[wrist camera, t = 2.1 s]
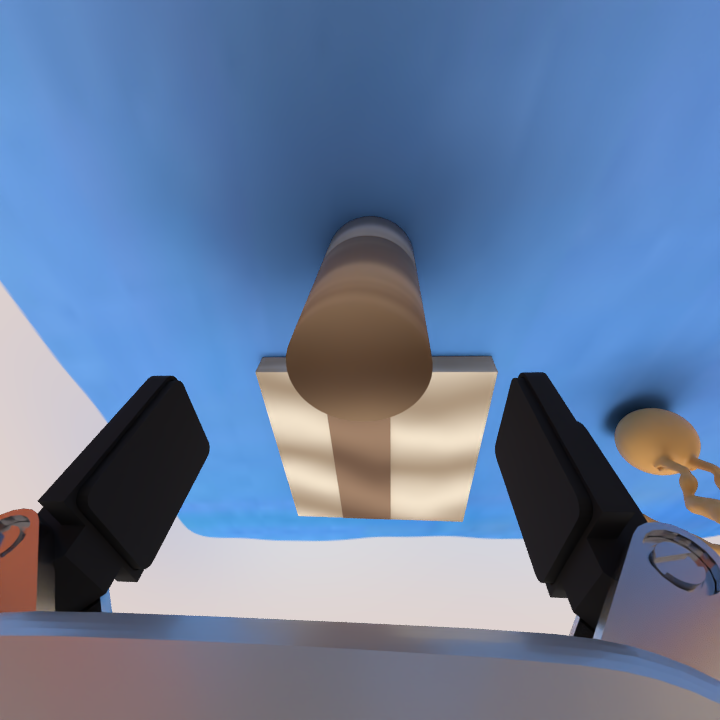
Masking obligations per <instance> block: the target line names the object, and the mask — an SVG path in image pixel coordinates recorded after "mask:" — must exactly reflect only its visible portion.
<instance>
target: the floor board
mask: <svg viewBox="0 0 720 720" xmlns="http://www.w3.org/2000/svg"><path fill="white" fill-rule="evenodd" d="M432 361H433V371H432V377H431V380H430V383H429V386H428V388H427V389H426V391H425V393H424V394H423V395H422V397H421V398H420V399H419V400H418V401H417V402H416V403H415V404H414V405H413V406H411V407H410V408H409V409H407V410H405V411H404V412H402V413H400V414H398V415H395V416H393V417H390V418H387V419H382V420H377V421H367V422H359V421H349V420H343V419H339V418H336V417H333V416H330V415H328V414H325V413H323V412H321V411H319V410H318V409H316V408H314V407H313V406H312V405H310V404H309V403H308V402H306V401H305V400H304V399H303V398H302V397H301V396H300V395H299V393H298V392H297V391H296V389H295V388H294V386H293V385H292V383H291V381H290V379H289V376H288V372H287V367H286V357H263V358H262V360H261V362H260V364H259V366H258V368H257V370H256V376H257V379H258V382H259V386H260V389H261V392H262V396H263V399H264V402H265V406H266V409H267V412H268V416H269V419H270V422H271V426H272V429H273V432H274V436H275V439H276V443H277V446H278V449H279V453H280V456H281V459H282V463H283V466H284V469H285V473H286V476H287V479H288V483H289V486H290V489H291V493H292V496H293V499H294V503H295V506H296V510H297V513H298V516H317V517H343V518H365V519H402V520H430V521H458V522H463V518H464V514H465V509H466V505H467V501H468V497H469V492H470V488H471V484H472V480H473V475H474V471H475V467H476V463H477V458H478V454H479V450H480V445H481V441H482V437H483V433H484V428H485V424H486V420H487V416H488V411H489V407H490V403H491V399H492V394H493V390H494V386H495V381H496V377H497V373H498V371H497V369H496V367H495V364H494V362H493V359H492V357H491V356H439V357H432Z"/></svg>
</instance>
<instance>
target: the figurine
mask: <svg viewBox="0 0 720 720" xmlns="http://www.w3.org/2000/svg"><path fill="white" fill-rule="evenodd" d="M615 444H616V447H617V449H618V451H619V453H620V454H621V455H622V457H623V458H624V459H625V460H626V461H627V462H628V463H630V464H631V465H632V466H634V467H636V468H637V469H639V470H642V471H644V472H647V473H651V474H656V475H672V474H677V473H680V474H681V476H680V479H679V484H680V487H681V489H682V491H683V494H684V500H685V506H686V508H687V509H688V510H689V511H690V512H692V513H695V514H699V515H702V516H705V517H707V518H709V519H711V520H714V521H716V522H717V523H719V524H720V500H717V499H712V498H705V497H699V496H695V495H694V493H695V492H696V490H697V487H698V482H697V479H696V478H695V477H694V476H693V475H692V474H691V472H690V470H691V471H693V470H696V469H697V468H698V469H702V470H705V471H708V472H711V473H713V474H714V481H715V484H716V485H717V487H718V488H719V490H720V468H719V467H718V466H716V465H714V464H711V463H708V462H706V461H703V460H700V459H698V457H699V454H700V449H701V444H700V439H699V436H698V434H697V432H696V430H695V429H694V427H693V426H692V425H691V424H690V423H689V422H688V421H687V420H685V419H684V418H683V417H681V416H679V415H678V414H675V413H673V412H671V411H668V410H664V409H658V408H644V409H639V410H636V411H633V412H631V413H629V414H627V415H626V416H625V417H623V418H622V419H621V420H620V422H619V423H618V425H617V427H616V430H615ZM643 515H644V514H643ZM644 517H645V518H646V520H647V522H658V521H656V520H653V519H651V518H649V517H648V516H646V515H644ZM693 535H694V534H693ZM694 536H696V535H694ZM696 537H698V536H696ZM698 538H699V539H701V540H702V541H703V542H705V543H706V544H707V545H708V546H709V547H711V548H712V549H713V550H714V551H715V552H716V553H717V554H718V555H719V556H720V545H718V544H712V543H710V542H707V541H706V540H704V539H702V538H701V537H698Z"/></svg>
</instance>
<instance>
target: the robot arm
mask: <svg viewBox="0 0 720 720" xmlns="http://www.w3.org/2000/svg"><path fill="white" fill-rule="evenodd" d="M209 449H210V446H209V442H208V440H207V437H206V435H205V433H204V431H203V428H202V426H201V424H200V421H199V419H198V417H197V415H196V412H195V410H194V408H193V406H192V403H191V401H190V399H189V396H188V394H187V392H186V390H185V387H184V385H183V383H182V382H181V381H178V380H177V378H175V377H174V376H152V377H150V378H149V379H147V381H146V382H145V383H144V384H143V385H142V386H141V387H140V388H139V389H138V391H137V392H136V393H135V394H134V395H133V396H132V397H131V398H130V399H129V401H128V402H127V403H126V404H125V405H124V406H123V407H122V408H121V409H120V410H119V412H118V413H117V414H116V415H115V416H114V417H113V418H112V419H111V420H110V422H109V423H108V424H107V425H106V426H105V427H104V428H103V429H102V430H101V432H100V433H99V434H98V435H97V436H96V437H95V438H94V439H93V440H92V442H91V443H90V444H89V445H88V446H87V447H86V448H85V449H84V450H83V451H82V453H81V454H80V455H79V456H78V457H77V458H76V459H75V460H74V461H73V462H72V464H71V465H70V466H69V467H68V468H67V469H66V470H65V471H64V472H63V474H62V475H61V476H60V477H59V478H58V479H57V480H56V481H55V482H54V484H53V485H52V486H51V487H50V488H49V489H48V490H47V491H46V493H45V494H44V495H43V496H42V497H41V498H40V499H39V500H38V502H39V503H40V504H41V505H42V506H43V508H42V509H41V510H40V512H39V513H38V514H37V513H36V512H35V511H33V510H32V509H18V510H13V511H10V512H7V513H4V514H1V515H0V720H720V556H719V555H718V554H717V553H716V552H715V551H714V550H713V549H712V548H711V547H709V546H708V545H707V544H706V543H705V542H703V541H702V540H701V539H699V538H698V537H696V536H694V535H693V534H691V533H689V532H688V531H686V530H683V529H681V528H678V527H676V526H674V525H671V524H666V523H661V522H647V520H646V518H645V517H644V515H643V514H642V512H641V511H640V509H639V508H638V506H637V505H636V503H635V502H634V500H633V499H632V497H631V496H630V494H629V493H628V491H627V490H626V488H625V487H624V485H623V484H622V482H621V481H620V479H619V478H618V476H617V474H616V473H615V471H614V470H613V468H612V467H611V465H610V464H609V462H608V461H607V459H606V458H605V456H604V455H603V453H602V452H601V450H600V449H599V447H598V446H597V444H596V443H595V441H594V440H593V438H592V437H591V435H590V434H589V432H588V430H587V429H586V428H585V427H584V425H583V424H581V423H580V422H578V421H576V420H575V418H574V416H573V415H572V413H571V412H570V410H569V409H568V407H567V406H566V404H565V402H564V401H563V399H562V398H561V396H560V395H559V393H558V392H557V390H556V388H555V387H554V385H553V384H552V382H551V381H550V379H549V378H548V376H547V375H546V374H545V373H543V372H532V373H520V375H519V376H518V378H513V379H512V381H511V385H510V389H509V393H508V397H507V401H506V405H505V409H504V413H503V417H502V420H501V424H500V428H499V432H498V436H497V440H496V445H495V454H496V458H497V462H498V464H499V467H500V470H501V473H502V476H503V479H504V482H505V485H506V488H507V491H508V494H509V497H510V500H511V503H512V506H513V509H514V512H515V515H516V518H517V521H518V524H519V527H520V530H521V533H522V536H523V539H524V542H525V545H526V548H527V551H528V554H529V557H530V559H531V563H532V565H533V569H534V572H535V574H536V577H537V579H538V580H539V581H540V582H541V583H546V586H547V589H548V592H549V595H550V597H555V598H556V597H557V598H568V600H569V602H570V605H571V607H572V610H573V612H574V613H575V614H576V618H575V621H574V624H573V626H572V629H571V632H570V634H569V636H566V635H557V634H545V633H530V632H514V631H501V630H486V629H469V628H449V627H428V626H409V625H408V626H407V625H389V624H368V623H347V622H325V621H324V622H323V621H303V620H279V619H257V618H234V617H210V616H185V615H158V614H134V613H112V609H111V601H110V593H109V587H110V586H111V584H112V582H113V581H114V579H115V580H117V581H123V582H138V580H139V578H140V576H141V574H142V572H143V571H144V569H146V568H148V567H149V566H150V565H151V564H152V562H153V560H154V558H155V556H156V555H157V553H158V551H159V549H160V547H161V545H162V543H163V541H164V539H165V537H166V535H167V534H168V531H169V530H170V528H171V526H172V524H173V522H174V520H175V518H176V516H177V514H178V512H179V510H180V508H181V507H182V505H183V503H184V501H185V499H186V497H187V495H188V493H189V491H190V489H191V487H192V485H193V483H194V482H195V480H196V478H197V476H198V474H199V472H200V470H201V468H202V466H203V464H204V462H205V460H206V458H207V456H208V454H209Z"/></svg>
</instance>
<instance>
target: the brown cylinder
mask: <svg viewBox="0 0 720 720" xmlns="http://www.w3.org/2000/svg"><path fill="white" fill-rule="evenodd" d="M286 367H287V372H288V376H289V379H290V381H291V383H292V385H293V386H294V388H295V389H296V391H297V392H298V393H299V395H300V396H301V397H302V398H303V399H304V400H305V401H306V402H308V403H309V404H310V405H312V406H313V407H314V408H316V409H318V410H319V411H321V412H323V413H325V414H328V415H330V416H333V417H336V418H339V419H343V420H349V421H359V422H367V421H377V420H382V419H387V418H390V417H393V416H395V415H398V414H400V413H402V412H404V411H405V410H407V409H409V408H410V407H411V406H413V405H414V404H415V403H416V402H417V401H418V400H419V399H420V398H421V397H422V395H423V394H424V393H425V391H426V389H427V388H428V386H429V383H430V380H431V377H432V371H433V361H432V355H431V350H430V344H429V338H428V333H427V327H426V321H425V315H424V310H423V304H422V298H421V293H420V287H419V281H418V276H417V270H416V264H415V259H414V253H413V248H412V245H411V242H410V240H409V238H408V237H407V235H406V233H405V232H404V231H403V230H402V229H401V228H400V227H399V226H398V225H396V224H395V223H393V222H391V221H389V220H387V219H384V218H381V217H376V216H366V217H360V218H356V219H354V220H351V221H350V222H348V223H346V224H345V225H344V226H342V227H341V228H340V229H339V230H338V231H337V233H336V234H335V235H334V237H333V239H332V241H331V243H330V245H329V248H328V250H327V252H326V255H325V257H324V260H323V262H322V265H321V267H320V270H319V272H318V274H317V277H316V279H315V282H314V284H313V287H312V289H311V291H310V294H309V296H308V299H307V301H306V304H305V306H304V308H303V311H302V313H301V316H300V318H299V321H298V323H297V325H296V328H295V330H294V333H293V335H292V338H291V340H290V343H289V345H288V348H287V353H286Z"/></svg>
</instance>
